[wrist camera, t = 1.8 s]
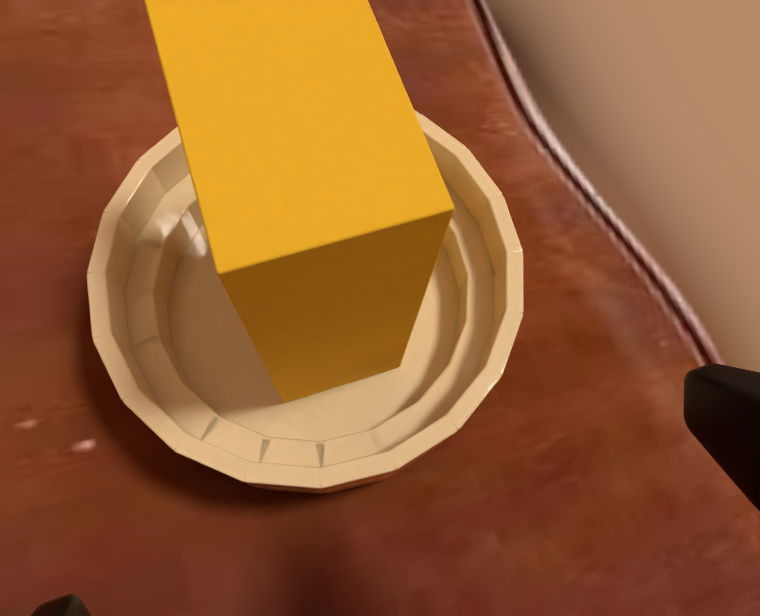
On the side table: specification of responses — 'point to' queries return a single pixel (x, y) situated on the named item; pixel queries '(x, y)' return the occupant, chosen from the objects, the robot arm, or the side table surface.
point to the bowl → (243, 364)
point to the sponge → (306, 179)
